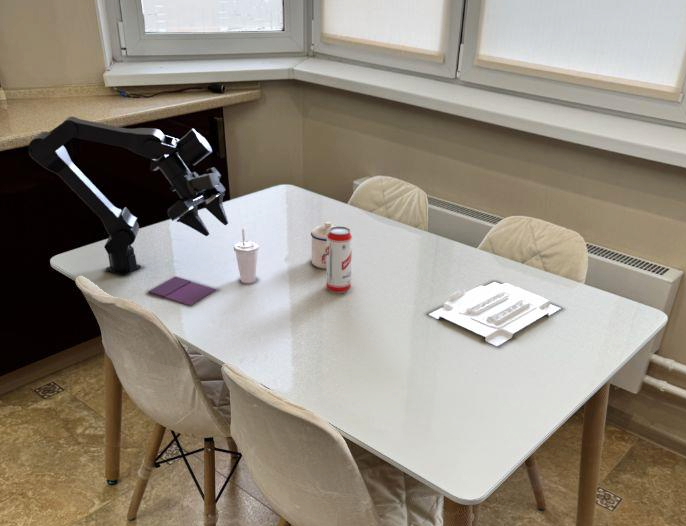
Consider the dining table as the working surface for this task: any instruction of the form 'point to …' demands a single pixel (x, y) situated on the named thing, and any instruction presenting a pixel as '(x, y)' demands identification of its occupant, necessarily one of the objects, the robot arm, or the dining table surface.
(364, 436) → the dining table surface
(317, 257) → the teacup with lid
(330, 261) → the beer can
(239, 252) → the smoothie
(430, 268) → the dining table surface
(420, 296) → the dining table surface
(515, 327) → the tray
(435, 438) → the dining table surface
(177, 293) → the dish cloth
